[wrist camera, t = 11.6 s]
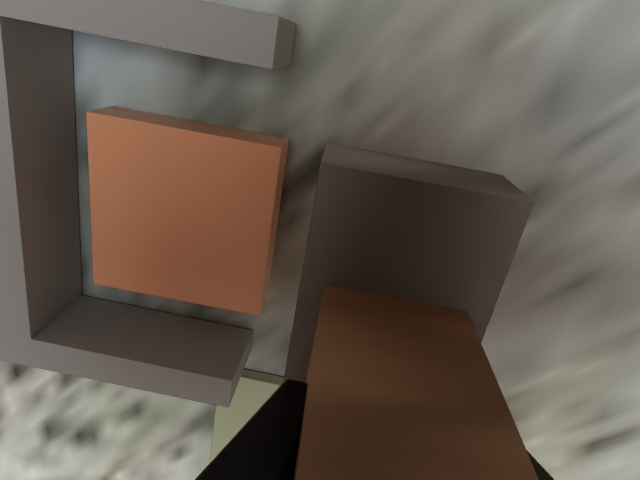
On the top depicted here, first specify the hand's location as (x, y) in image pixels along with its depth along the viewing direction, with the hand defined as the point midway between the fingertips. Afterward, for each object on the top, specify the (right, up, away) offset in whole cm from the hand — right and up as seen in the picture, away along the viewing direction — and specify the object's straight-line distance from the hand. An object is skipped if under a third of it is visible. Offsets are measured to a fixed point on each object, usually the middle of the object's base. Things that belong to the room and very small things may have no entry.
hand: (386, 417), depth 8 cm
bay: (-7, +5, +8) cm, 12 cm away
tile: (-6, +5, +8) cm, 11 cm away
